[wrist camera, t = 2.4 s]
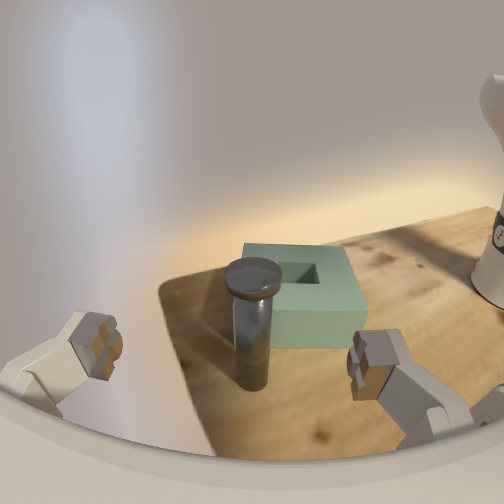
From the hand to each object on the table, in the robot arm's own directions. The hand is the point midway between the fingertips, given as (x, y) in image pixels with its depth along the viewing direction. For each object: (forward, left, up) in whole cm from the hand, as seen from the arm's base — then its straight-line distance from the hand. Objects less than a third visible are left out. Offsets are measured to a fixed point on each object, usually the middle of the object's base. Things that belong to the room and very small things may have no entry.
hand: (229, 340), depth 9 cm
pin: (0, -13, -19) cm, 23 cm away
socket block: (-5, -25, -19) cm, 32 cm away
